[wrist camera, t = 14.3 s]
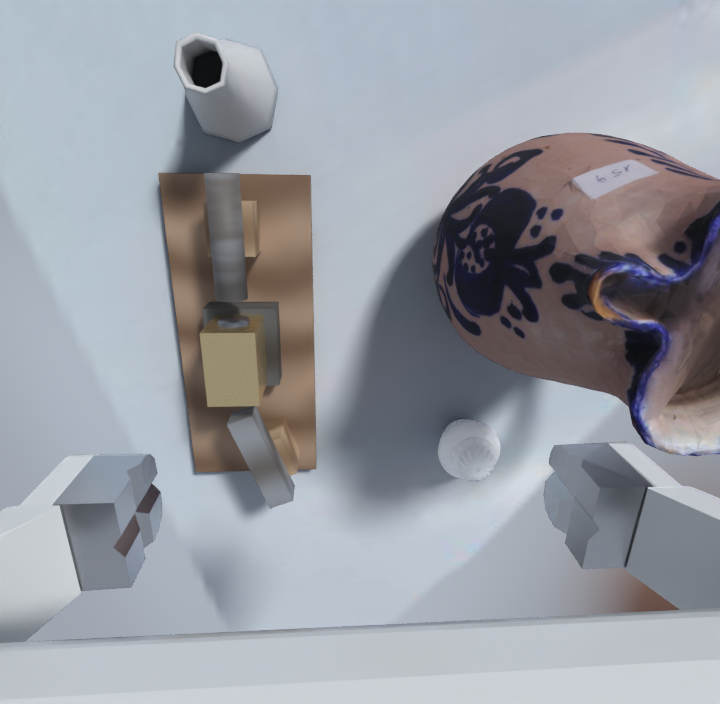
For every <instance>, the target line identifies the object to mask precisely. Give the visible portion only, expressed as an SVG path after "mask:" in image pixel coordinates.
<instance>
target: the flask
mask: <svg viewBox="0 0 720 704" xmlns="http://www.w3.org/2000/svg"><path fill="white" fill-rule="evenodd" d="M174 68H175V70H176V72H177V74H178V76H179V78H180V80H181V82H182V84H183V86H184V88H185V89H186V98H187V100H188V102H189V104H190V106H191V108H192V110H193V112H194V114H195V116H196V118H197V120H198V122H199V124H200V126H201V128H202V130H203V132H204V133H206V134H209V135H213V136H217V137H220V138H224V139H228V140H231V141H235V142H239V143H240V142H242V141H245V140H247V139H249V138H251V137H253V136H255V135H257V134H260V133H262V132H264V131H266V130H268V129H270V128H272V123H273V117H274V111H275V105H276V100H277V94H278V87H277V85H276V83H275V80H274V78H273V75H272V73H271V71H270V68H269V66H268V64H267V61H266V59H265V57H264V54H263V52H262V50H260V49H257V48H254V47H250V46H247V45H244V44H240V43H237V42H234V41H230V40H227V39H222V40H220V41H219V40H218V39H216V38H212V37H209V36H206V35H202V34H199V33H196V32H195V33H193V34H191V35H189V36H187V37H185V38H183V39H181V40H179V41H177V42H176V49H175V58H174Z"/></svg>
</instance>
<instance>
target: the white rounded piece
mask: <svg viewBox="0 0 720 704" xmlns="http://www.w3.org/2000/svg"><path fill="white" fill-rule="evenodd" d="M439 441H440V442H439V446H438V457H439V461H440V463H441V465H442V466H443V468H444V469H445V470H446V471H447V472H448V473H449V474H450V475H452V476H454V477H457V478H460V479H468V480H470V481H473V480H476V481H479V480H480V479H485V478H486V476H487V475H490V471H493V470H494V468H493V467H494V466H495V465H496V463H497V461H498V459H499V455H500V442H499V439H498V437H497V435H496V434H495V432H494V431H493V430H492V429H491V428H490V427H489V426H487V425H485V424H483V423H479V422H478V421H474V420H469V419H460V420H458V419H457V420H456V421H455V420H454V422H451V423H450V424H449V425H448V426H447V427H446V429H445V431H444V432H443V434H442V436H441V438H440V440H439Z"/></svg>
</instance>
